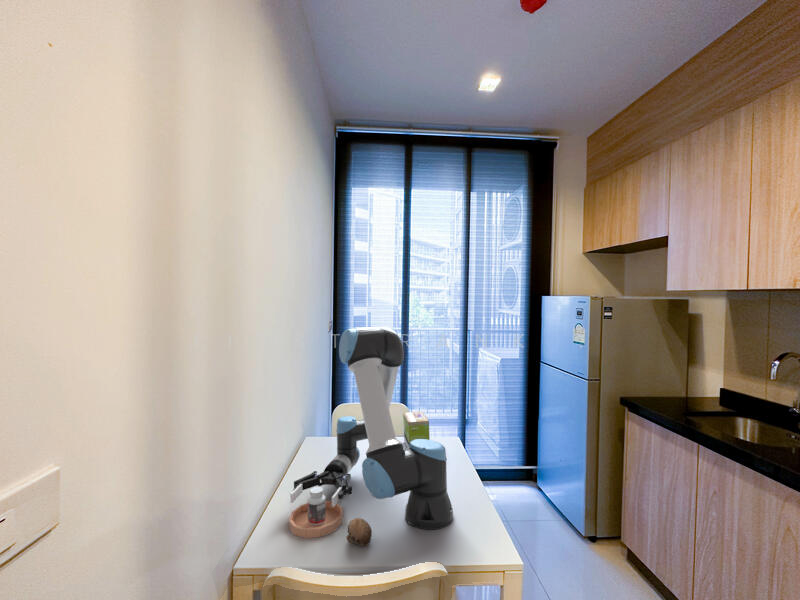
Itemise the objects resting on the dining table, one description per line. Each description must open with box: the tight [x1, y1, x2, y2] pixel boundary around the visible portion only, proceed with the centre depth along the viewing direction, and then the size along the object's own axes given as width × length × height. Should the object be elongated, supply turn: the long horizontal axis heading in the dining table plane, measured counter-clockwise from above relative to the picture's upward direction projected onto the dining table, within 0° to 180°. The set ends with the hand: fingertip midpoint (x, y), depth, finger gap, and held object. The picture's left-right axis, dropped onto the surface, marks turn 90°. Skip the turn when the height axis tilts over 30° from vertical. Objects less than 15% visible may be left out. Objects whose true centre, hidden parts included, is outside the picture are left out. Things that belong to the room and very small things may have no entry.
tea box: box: [402, 411, 431, 449], centre depth 175 cm, size 15×10×15 cm
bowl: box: [288, 499, 344, 539], centre depth 115 cm, size 16×16×2 cm
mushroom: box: [346, 517, 373, 547], centre depth 105 cm, size 8×8×6 cm
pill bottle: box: [307, 486, 327, 526], centre depth 114 cm, size 5×5×10 cm
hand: (311, 500), depth 112 cm, fingers open, 13 cm apart
